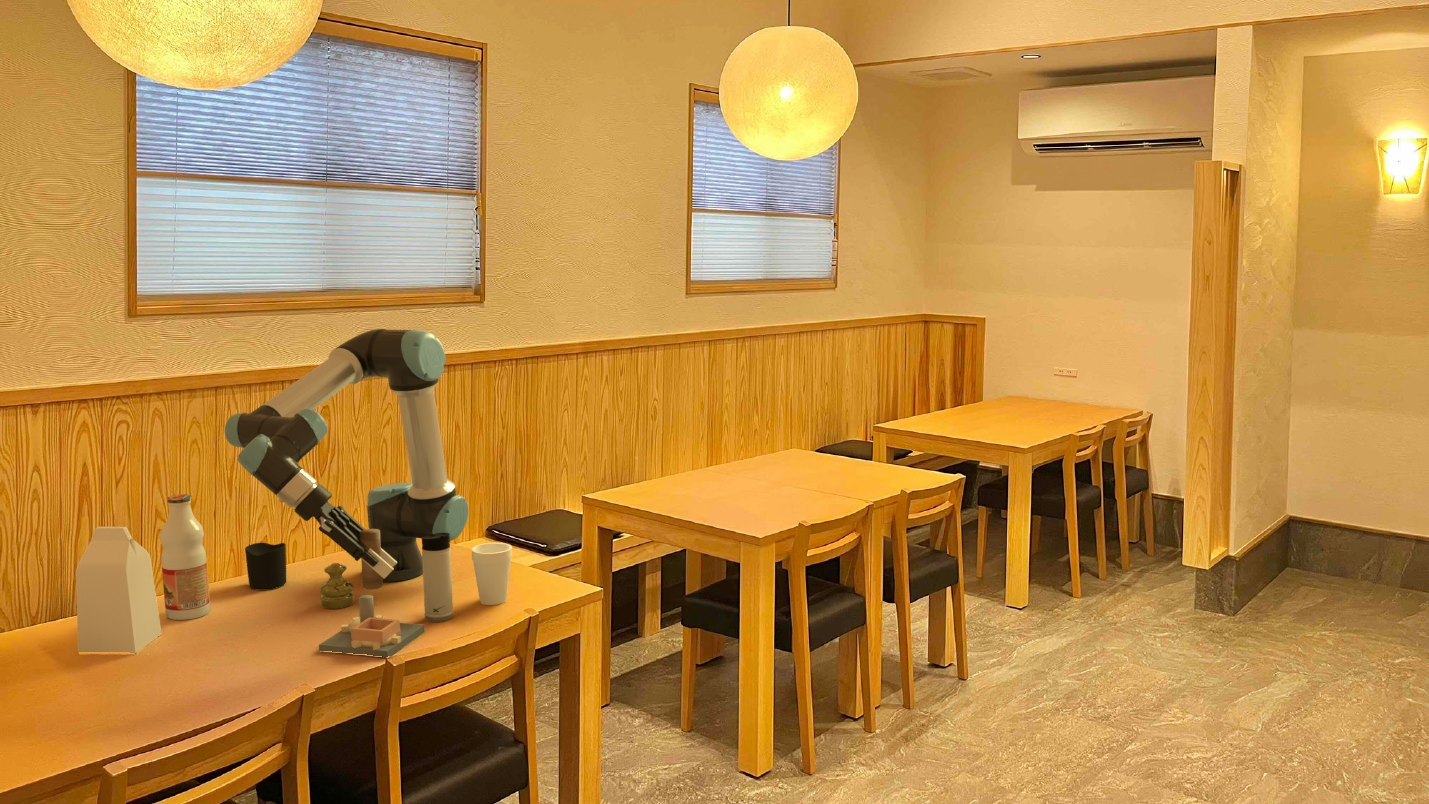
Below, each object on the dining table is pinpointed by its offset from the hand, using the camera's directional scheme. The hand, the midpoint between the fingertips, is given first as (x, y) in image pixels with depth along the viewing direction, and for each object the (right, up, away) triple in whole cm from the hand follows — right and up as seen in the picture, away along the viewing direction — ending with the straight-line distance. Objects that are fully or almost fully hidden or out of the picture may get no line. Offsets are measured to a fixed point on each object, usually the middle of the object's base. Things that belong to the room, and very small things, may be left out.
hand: (390, 570), depth 240 cm
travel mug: (+5, -14, +21) cm, 26 cm away
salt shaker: (-21, -13, +30) cm, 39 cm away
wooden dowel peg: (-4, -3, 0) cm, 5 cm away
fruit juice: (-54, -14, +24) cm, 60 cm away
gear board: (-5, -16, +6) cm, 18 cm away
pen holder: (-43, -11, +44) cm, 63 cm away
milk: (-59, -17, +5) cm, 62 cm away
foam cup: (+15, -12, +32) cm, 38 cm away
